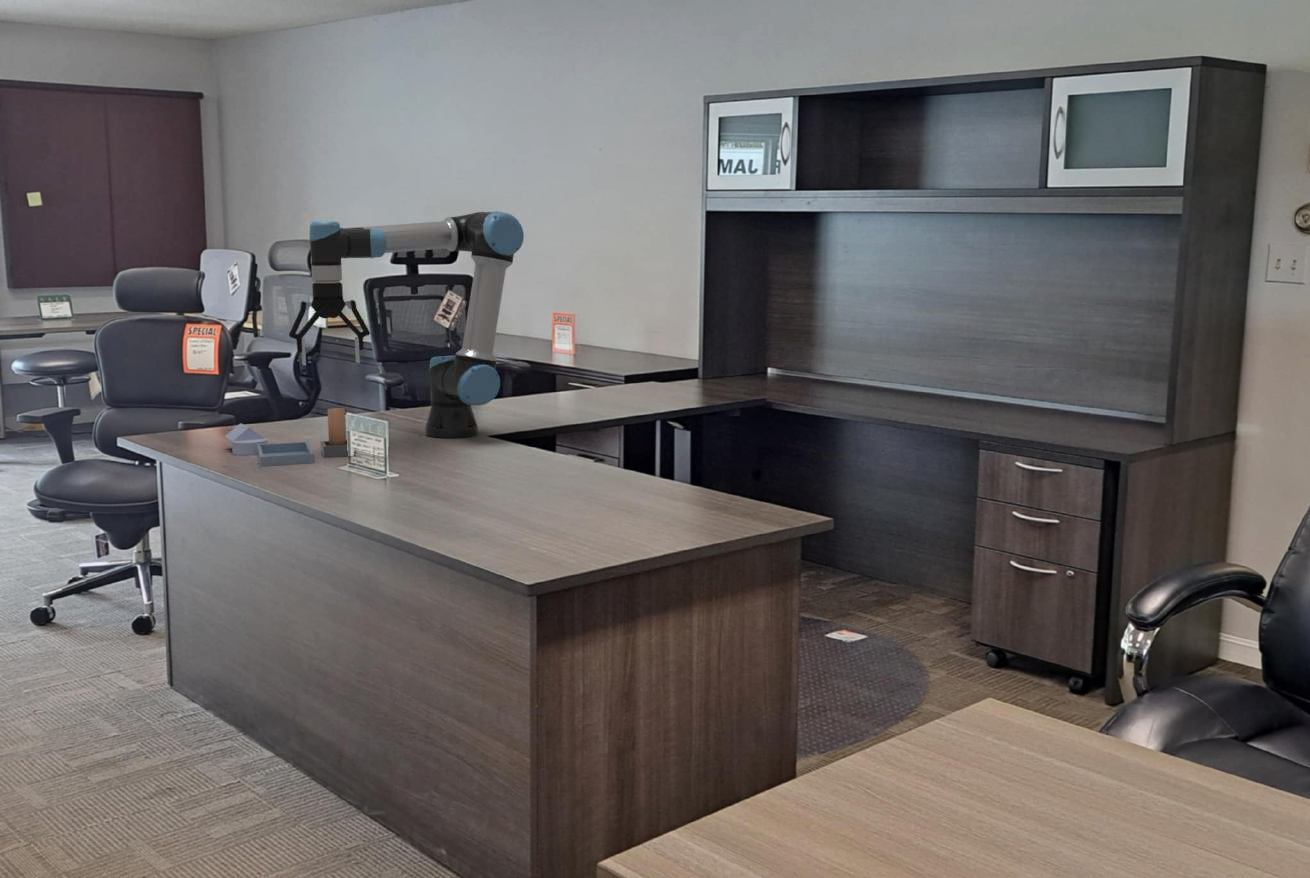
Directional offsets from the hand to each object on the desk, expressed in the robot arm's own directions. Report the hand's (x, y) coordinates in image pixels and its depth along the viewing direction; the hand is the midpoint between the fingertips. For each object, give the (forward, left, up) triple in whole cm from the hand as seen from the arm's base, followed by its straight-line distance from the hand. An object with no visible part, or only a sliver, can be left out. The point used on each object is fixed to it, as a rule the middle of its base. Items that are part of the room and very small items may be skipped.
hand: (331, 363), depth 319 cm
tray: (+13, +2, -25) cm, 28 cm away
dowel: (-1, +1, -24) cm, 24 cm away
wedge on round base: (+21, -15, -25) cm, 36 cm away
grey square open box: (-1, +1, -25) cm, 25 cm away
